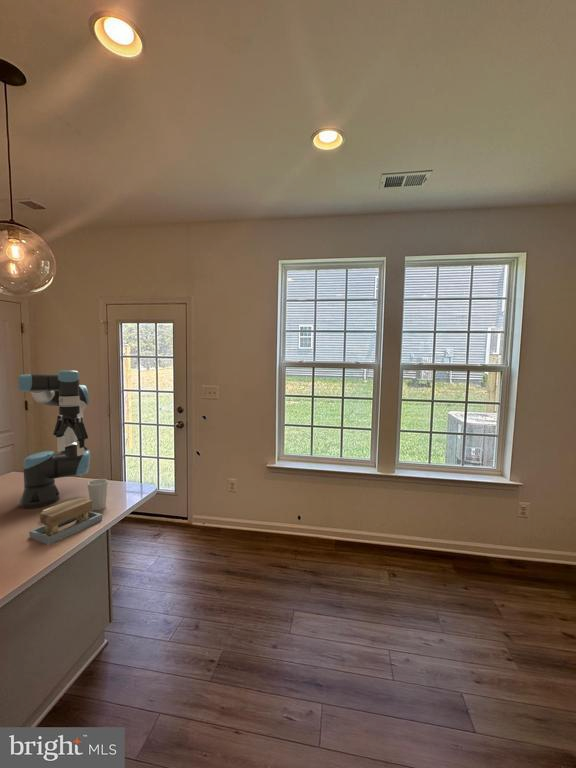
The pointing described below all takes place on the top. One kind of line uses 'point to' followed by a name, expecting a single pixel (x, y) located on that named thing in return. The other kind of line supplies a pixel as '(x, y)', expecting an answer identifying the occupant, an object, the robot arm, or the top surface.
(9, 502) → the top surface
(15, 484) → the top surface
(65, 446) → the robot arm
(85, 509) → the board
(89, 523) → the frame
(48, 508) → the block
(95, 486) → the cup
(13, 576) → the top surface
